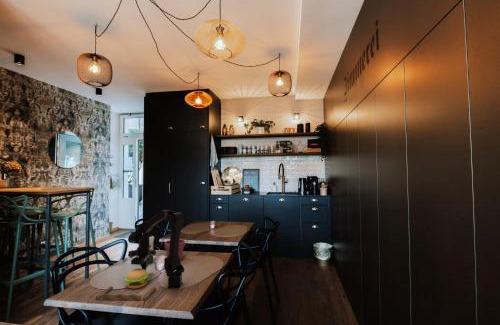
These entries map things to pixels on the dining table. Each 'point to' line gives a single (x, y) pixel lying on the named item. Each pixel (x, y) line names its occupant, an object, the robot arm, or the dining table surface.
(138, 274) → the hamburger
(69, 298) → the dining table surface
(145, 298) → the frame
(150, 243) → the milk carton
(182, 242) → the plant pot
